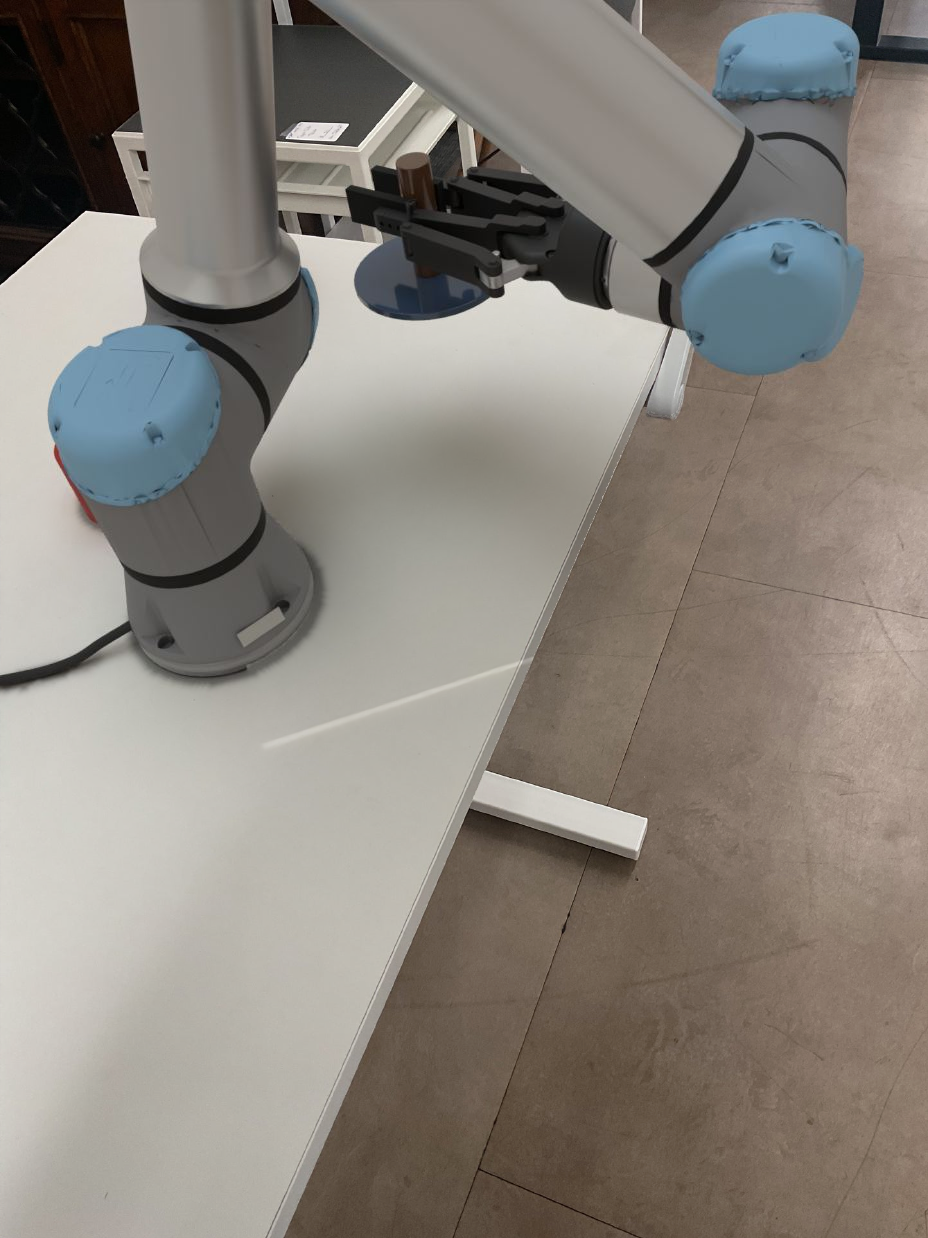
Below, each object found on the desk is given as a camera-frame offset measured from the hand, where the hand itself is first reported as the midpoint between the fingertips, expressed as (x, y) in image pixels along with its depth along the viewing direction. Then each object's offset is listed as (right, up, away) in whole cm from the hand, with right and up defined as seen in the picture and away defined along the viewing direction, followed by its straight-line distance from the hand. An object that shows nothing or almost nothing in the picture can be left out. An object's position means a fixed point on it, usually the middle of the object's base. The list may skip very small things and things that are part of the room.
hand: (364, 193), depth 80 cm
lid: (+5, -6, +2) cm, 8 cm away
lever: (-24, -19, +18) cm, 35 cm away
